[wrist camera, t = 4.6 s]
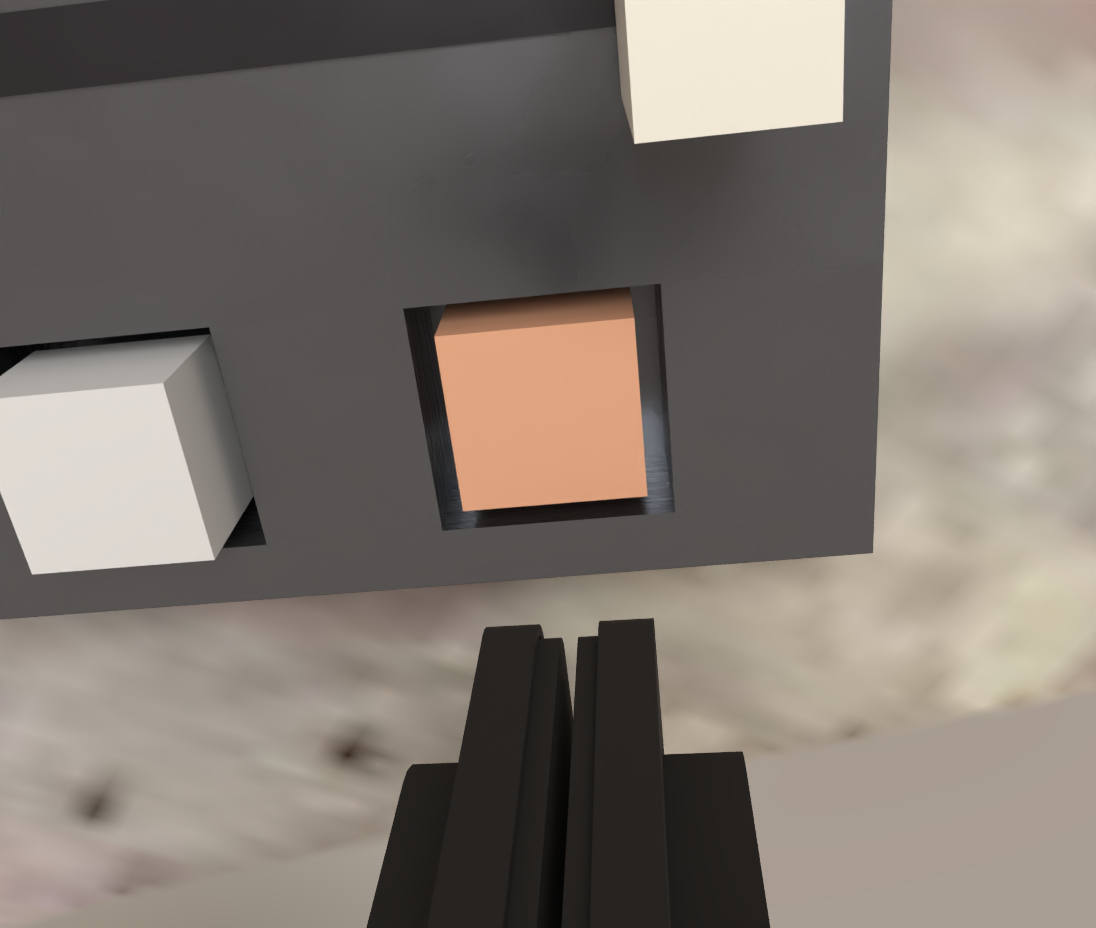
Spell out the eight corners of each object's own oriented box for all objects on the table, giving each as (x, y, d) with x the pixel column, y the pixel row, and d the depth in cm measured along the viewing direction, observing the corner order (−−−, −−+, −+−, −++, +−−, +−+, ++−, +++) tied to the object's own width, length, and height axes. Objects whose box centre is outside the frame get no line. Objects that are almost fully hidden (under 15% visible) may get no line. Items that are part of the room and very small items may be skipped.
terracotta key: (628, 277, 20) (634, 317, 18) (640, 440, 22) (647, 496, 19) (450, 294, 20) (434, 337, 18) (475, 454, 22) (463, 511, 20)
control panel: (844, -286, 17) (906, -343, 14) (833, 471, 23) (874, 555, 20) (-292, -132, 18) (-478, -151, 15) (-19, 541, 25) (-109, 630, 21)
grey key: (210, 334, 20) (163, 383, 17) (253, 495, 21) (214, 559, 19) (34, 350, 20) (-35, 401, 18) (89, 509, 21) (32, 574, 19)
